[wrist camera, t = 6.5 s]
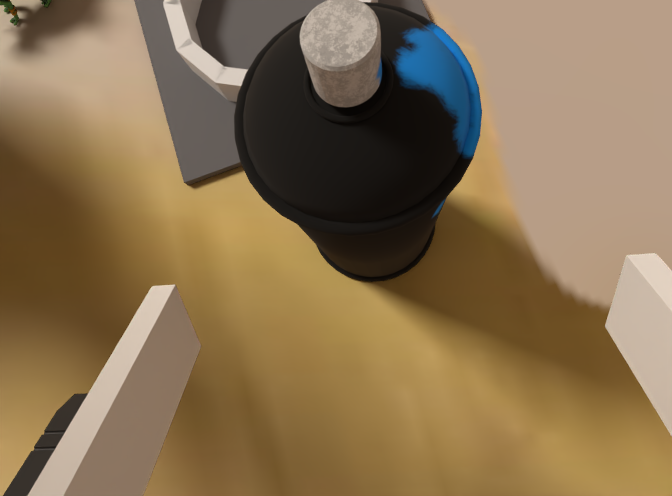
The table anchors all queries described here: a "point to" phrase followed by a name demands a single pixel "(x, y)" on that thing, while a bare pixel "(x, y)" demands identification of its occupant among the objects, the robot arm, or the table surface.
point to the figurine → (9, 7)
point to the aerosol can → (359, 131)
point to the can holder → (213, 67)
